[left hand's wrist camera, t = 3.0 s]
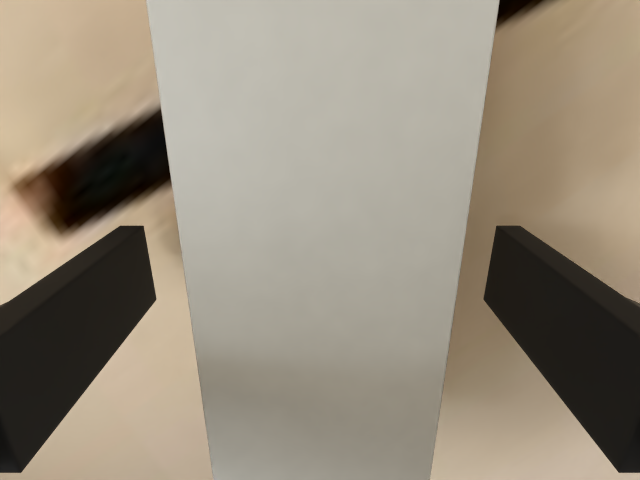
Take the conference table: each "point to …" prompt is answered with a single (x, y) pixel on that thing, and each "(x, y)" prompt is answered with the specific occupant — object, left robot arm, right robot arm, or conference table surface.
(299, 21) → the beam
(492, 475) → the conference table surface
